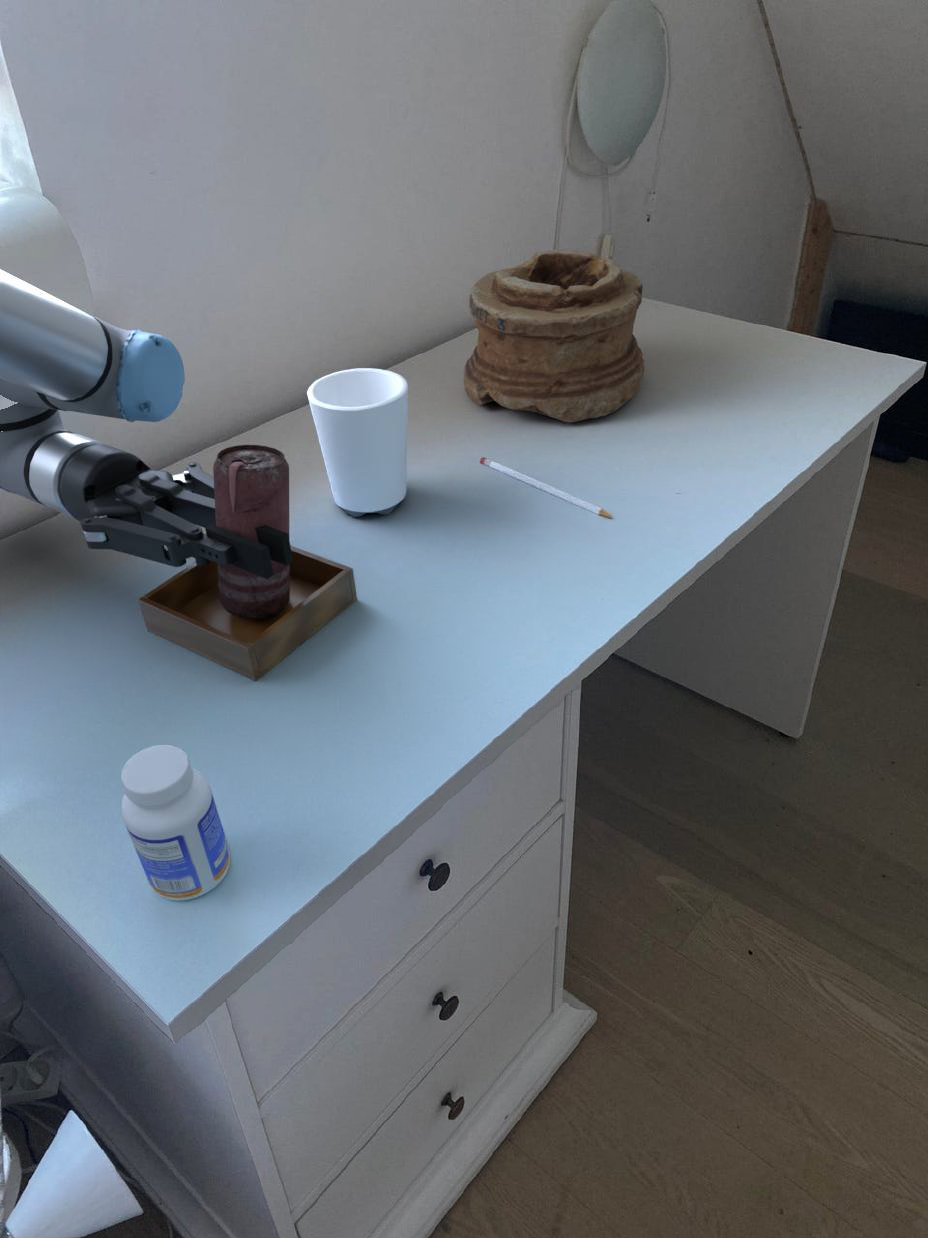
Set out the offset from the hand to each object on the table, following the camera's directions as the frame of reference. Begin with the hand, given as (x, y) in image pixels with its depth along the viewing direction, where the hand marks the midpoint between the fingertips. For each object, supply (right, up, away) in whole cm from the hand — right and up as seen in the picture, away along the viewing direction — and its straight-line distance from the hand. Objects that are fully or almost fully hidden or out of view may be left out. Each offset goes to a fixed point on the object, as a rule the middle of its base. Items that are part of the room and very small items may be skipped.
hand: (277, 556), depth 76 cm
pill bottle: (-3, -22, -14) cm, 26 cm away
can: (-4, -4, +8) cm, 10 cm away
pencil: (+24, +8, +24) cm, 35 cm away
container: (+27, +24, +44) cm, 57 cm away
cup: (+5, +7, +24) cm, 25 cm away
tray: (-4, -5, +8) cm, 10 cm away
